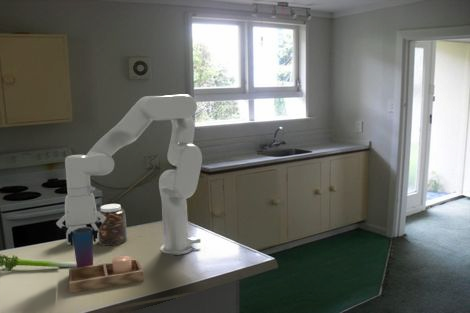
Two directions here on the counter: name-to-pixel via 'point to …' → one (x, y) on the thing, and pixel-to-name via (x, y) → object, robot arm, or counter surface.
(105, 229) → the jar
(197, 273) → the counter surface
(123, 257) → the peach capsule shape
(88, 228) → the cup
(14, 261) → the leek
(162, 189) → the robot arm
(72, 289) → the caddy
